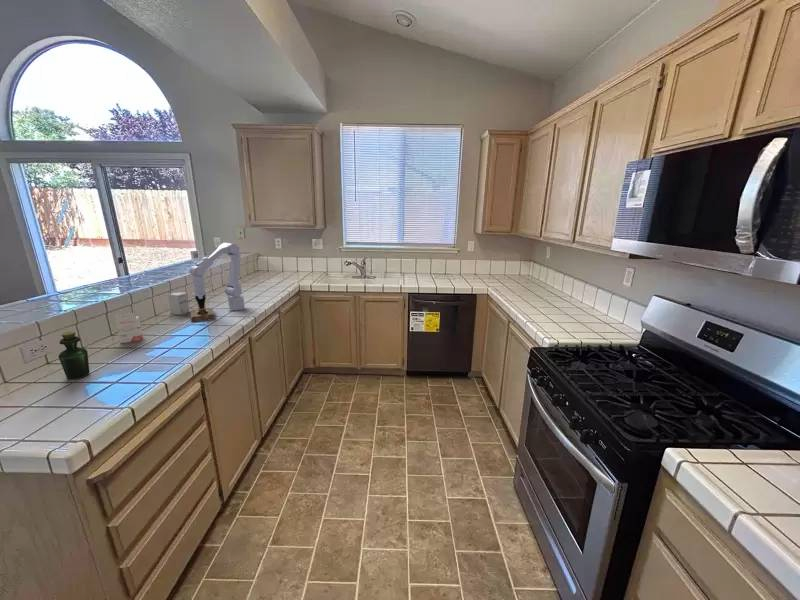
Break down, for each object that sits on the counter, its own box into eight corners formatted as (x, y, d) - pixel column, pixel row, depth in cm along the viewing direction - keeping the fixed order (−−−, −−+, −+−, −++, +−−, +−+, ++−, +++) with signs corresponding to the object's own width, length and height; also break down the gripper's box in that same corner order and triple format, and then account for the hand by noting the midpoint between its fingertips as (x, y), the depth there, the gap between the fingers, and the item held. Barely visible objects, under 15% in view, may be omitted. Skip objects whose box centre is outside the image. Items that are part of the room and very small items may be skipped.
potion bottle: (63, 375, 131) (53, 332, 126) (91, 369, 137) (82, 328, 132) (64, 383, 125) (52, 338, 121) (92, 376, 131) (83, 333, 126)
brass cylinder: (206, 311, 205) (204, 299, 203) (206, 313, 202) (204, 300, 200) (198, 312, 203) (197, 299, 201) (198, 314, 200) (197, 301, 198)
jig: (213, 312, 214) (212, 307, 214) (214, 319, 201) (214, 314, 201) (191, 314, 208) (190, 309, 207) (191, 321, 195) (191, 317, 194)
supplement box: (180, 314, 207) (177, 295, 203) (170, 313, 208) (167, 294, 205) (189, 311, 214) (187, 292, 210) (180, 310, 215) (177, 291, 212)
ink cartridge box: (143, 337, 170) (138, 310, 167) (141, 340, 166) (136, 312, 162) (122, 339, 166) (116, 312, 163) (119, 343, 162) (113, 314, 158)
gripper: (191, 283, 202) (193, 305, 205) (191, 288, 190) (194, 311, 194) (204, 283, 205) (206, 303, 209) (205, 287, 194) (208, 309, 197)
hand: (201, 307), depth 202 cm, fingers closed on brass cylinder, 4 cm apart
